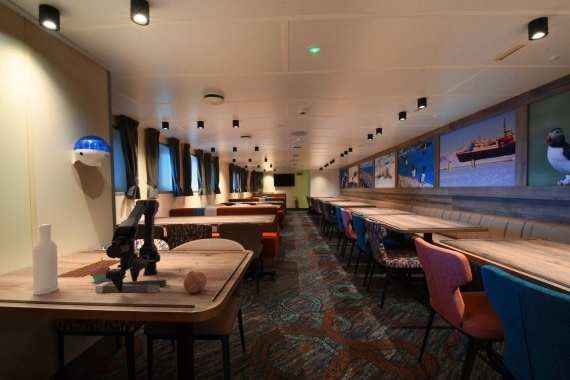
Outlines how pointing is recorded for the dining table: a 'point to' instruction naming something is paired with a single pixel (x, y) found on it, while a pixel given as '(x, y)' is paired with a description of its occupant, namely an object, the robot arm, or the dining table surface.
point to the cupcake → (99, 272)
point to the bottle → (45, 262)
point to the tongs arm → (148, 282)
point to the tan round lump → (195, 282)
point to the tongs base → (128, 288)
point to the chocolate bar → (88, 269)
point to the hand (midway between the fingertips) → (127, 287)
